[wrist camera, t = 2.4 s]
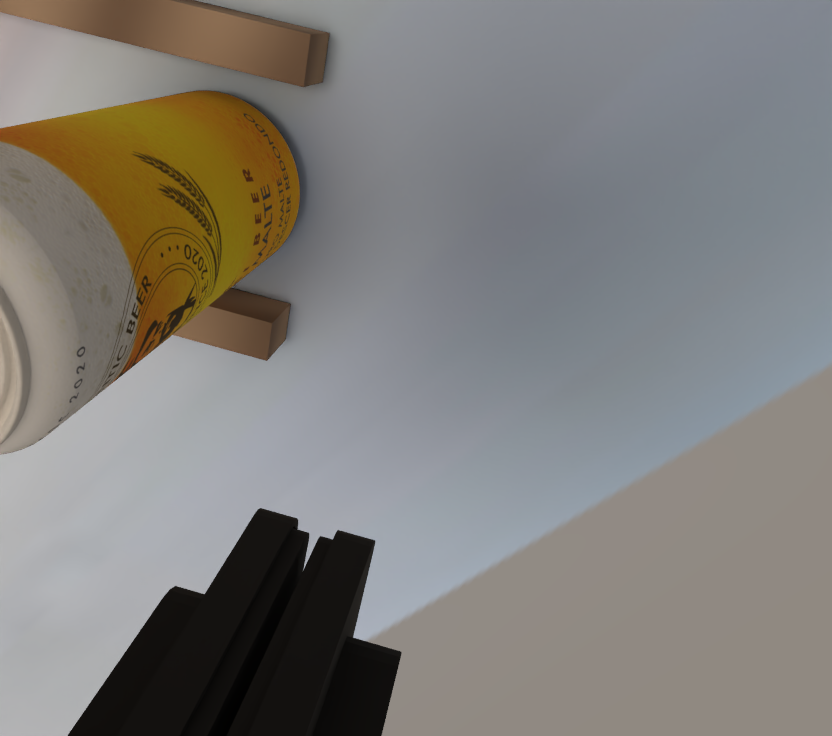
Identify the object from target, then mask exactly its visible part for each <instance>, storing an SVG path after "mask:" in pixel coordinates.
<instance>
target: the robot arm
mask: <svg viewBox="0 0 832 736" xmlns="http://www.w3.org/2000/svg"><path fill="white" fill-rule="evenodd" d="M297 529H298V519H297V518H293V517H290V516H286V515H283V514H279V513H276V512H272V511H269V510H265V509H262V508H260V509H258V510H257V512H256V513H255V514H254V516H253V518H252V519H251V521H250V522H249V524H248V526H247V527H246V529H245V530H244V532H243V534H242V535H241V537H240V539H239V540H238V542H237V543H236V545H235V547H234V548H233V550H232V551H231V553H230V555H229V556H228V558H227V559H226V561H225V563H224V564H223V566H222V567H221V569H220V571H219V572H218V574H217V575H216V577H215V579H214V580H213V582H212V584H211V585H210V587H209V588H208V590H207V592H206V593H205V594H201V593H198V592H194V591H191V590H187V589H184V588H181V587H177V586H175V587H173V588H172V589H170V590H169V591H168V592H167V594H166V595H165V596H164V597H163V599H162V600H161V602H160V603H159V604H158V606H157V607H156V609H155V610H154V612H153V613H152V614H151V616H150V617H149V619H148V620H147V622H146V623H145V625H144V626H143V627H142V629H141V630H140V632H139V633H138V635H137V636H136V638H135V639H134V640H133V642H132V643H131V645H130V646H129V648H128V649H127V651H126V652H125V653H124V655H123V656H122V658H121V659H120V661H119V662H118V664H117V665H116V666H115V668H114V669H113V671H112V672H111V674H110V675H109V677H108V678H107V679H106V681H105V682H104V684H103V685H102V687H101V688H100V690H99V691H98V692H97V694H96V695H95V697H94V698H93V700H92V701H91V703H90V704H89V705H88V707H87V708H86V710H85V711H84V713H83V714H82V716H81V717H80V718H79V720H78V721H77V723H76V724H75V726H74V727H73V729H72V730H71V731H70V733H69V734H68V736H381V735H382V730H383V727H384V723H385V719H386V715H387V710H388V706H389V702H390V698H391V694H392V690H393V686H394V681H395V678H396V674H397V669H398V665H399V661H400V657H401V652H400V651H397V650H393V649H390V648H386V647H383V646H380V645H376V644H373V643H369V642H366V641H362V640H359V639H356V638H353V635H354V630H355V626H356V622H357V618H358V614H359V609H360V605H361V601H362V597H363V592H364V588H365V584H366V580H367V576H368V571H369V567H370V563H371V559H372V554H373V550H374V546H375V540H371V539H368V538H364V537H361V536H357V535H354V534H350V533H347V532H343V531H339V530H338V531H337V532H336V534H335V536H334V538H333V540H332V539H329V538H325V537H322V536H320V537H319V539H318V541H317V543H316V545H315V547H314V549H313V551H312V553H311V556H310V558H309V560H308V562H307V564H306V566H305V568H304V562H305V557H306V552H307V547H308V541H309V533H307V532H304V531H300V530H297ZM303 568H304V571H303Z"/></svg>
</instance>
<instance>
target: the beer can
mask: <svg viewBox="0 0 832 736" xmlns="http://www.w3.org/2000/svg"><path fill="white" fill-rule="evenodd" d="M299 201H300V185H299V177H298V172H297V168H296V164H295V161H294V159H293V156H292V153H291V151H290V149H289V147H288V145H287V143H286V142H285V140H284V138H283V137H282V135H281V134H280V132H279V131H278V130H277V128H276V127H275V126H274V125H273V124H272V123H271V122H270V120H269V119H268V118H267V117H266V116H264V115H263V114H262V113H261V112H260V111H259V110H257V109H256V108H254V107H253V106H251V105H250V104H248V103H246V102H245V101H243V100H241V99H239V98H236V97H234V96H231V95H229V94H225V93H221V92H215V91H192V92H186V93H181V94H176V95H170V96H165V97H160V98H155V99H150V100H145V101H139V102H134V103H129V104H124V105H119V106H114V107H109V108H103V109H98V110H93V111H88V112H83V113H78V114H73V115H67V116H62V117H57V118H52V119H47V120H42V121H37V122H31V123H26V124H21V125H16V126H11V127H6V128H0V454H7V453H11V452H15V451H18V450H22V449H24V448H26V447H29V446H31V445H33V444H35V443H36V442H38V441H39V440H41V439H43V438H44V437H46V436H47V435H48V434H49V433H51V432H52V431H53V430H54V429H56V428H57V427H58V426H59V425H61V424H62V423H63V422H64V421H66V420H67V419H68V418H69V417H70V416H72V415H73V414H74V413H75V412H77V411H78V410H79V409H80V408H82V407H83V406H84V405H85V404H87V403H88V402H89V401H90V400H92V399H93V398H94V397H95V396H97V395H98V394H99V393H100V392H102V391H103V390H104V389H105V388H107V387H108V386H109V385H110V384H112V383H113V382H114V381H115V380H117V379H118V378H119V377H120V376H122V375H123V374H124V373H125V372H127V371H128V370H129V369H130V368H132V367H133V366H134V365H135V364H137V363H138V362H139V361H140V360H142V359H143V358H144V357H145V356H147V355H148V354H149V353H150V352H151V351H153V350H154V349H155V348H156V347H158V346H159V345H160V344H161V343H163V342H164V341H165V340H166V339H168V338H169V337H170V336H171V335H173V334H174V333H175V332H176V331H178V330H179V329H180V328H181V327H183V326H184V325H185V324H186V323H188V322H189V321H190V320H191V319H193V318H194V317H195V316H196V315H198V314H199V313H200V312H201V311H203V310H204V309H205V308H206V307H208V306H209V305H210V304H211V303H213V302H214V301H215V300H216V299H218V298H219V297H220V296H221V295H223V294H224V293H225V292H226V291H228V290H229V289H230V288H231V287H233V286H234V285H235V284H236V283H237V282H239V281H240V280H241V279H242V278H244V277H245V276H246V275H247V274H249V273H250V272H251V271H252V270H254V269H255V268H256V267H257V266H259V265H260V264H261V263H262V262H264V261H265V260H266V259H267V258H269V257H270V256H271V255H272V254H273V253H275V252H276V251H277V250H278V249H279V248H280V247H281V246H282V244H283V243H284V242H285V241H286V239H287V238H288V236H289V235H290V233H291V230H292V228H293V226H294V224H295V221H296V218H297V214H298V209H299Z"/></svg>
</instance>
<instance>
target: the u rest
mask: <svg viewBox="0 0 832 736" xmlns="http://www.w3.org/2000/svg"><path fill="white" fill-rule="evenodd" d="M0 12H3V13H7V14H11V15H15V16H19V17H23V18H27V19H31V20H35V21H39V22H43V23H47V24H51V25H55V26H59V27H63V28H67V29H71V30H75V31H79V32H83V33H87V34H91V35H95V36H100V37H104V38H108V39H112V40H116V41H120V42H124V43H128V44H132V45H136V46H140V47H144V48H148V49H152V50H156V51H160V52H164V53H168V54H172V55H176V56H180V57H184V58H188V59H192V60H196V61H200V62H205V63H209V64H213V65H217V66H221V67H225V68H229V69H233V70H237V71H241V72H245V73H249V74H253V75H257V76H261V77H265V78H269V79H273V80H277V81H281V82H285V83H289V84H293V85H297V86H301V87H306V86H309V85H313V84H317V83H321V82H323V75H324V68H325V61H326V54H327V47H328V40H329V33H327V32H323V31H318V30H314V29H310V28H306V27H302V26H298V25H294V24H290V23H285V22H281V21H277V20H273V19H269V18H265V17H261V16H256V15H252V14H248V13H244V12H240V11H236V10H232V9H227V8H223V7H219V6H215V5H211V4H207V3H203V2H198V1H194V0H0ZM289 311H290V304H288V303H285V302H281V301H277V300H274V299H270V298H266V297H262V296H259V295H255V294H251V293H248V292H244V291H240V290H236V289H233V288H230V289H229V290H228V291H226V292H225V293H224V294H223V295H221V296H220V297H219V298H218V299H216V300H215V301H214V302H213V303H211V304H210V305H209V306H208V307H206V308H205V309H204V310H203V311H201V312H200V313H199V314H198V315H196V316H195V317H194V318H193V319H191V320H190V321H189V322H188V323H186V324H185V325H184V326H183V327H181V328H180V329H179V330H178V331H176V332H175V333H174V334H173V335H175V336H179V337H183V338H186V339H190V340H194V341H197V342H201V343H205V344H208V345H212V346H215V347H219V348H223V349H226V350H230V351H234V352H237V353H241V354H244V355H248V356H252V357H255V358H259V359H263V360H266V361H267V360H268V359H269V358H270V357H271V355H272V354H273V353H274V352H275V351H276V350H277V349H278V347H279V346H280V345H281V344H282V343H283V342H284V341H285V339H286V332H287V325H288V318H289Z"/></svg>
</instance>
